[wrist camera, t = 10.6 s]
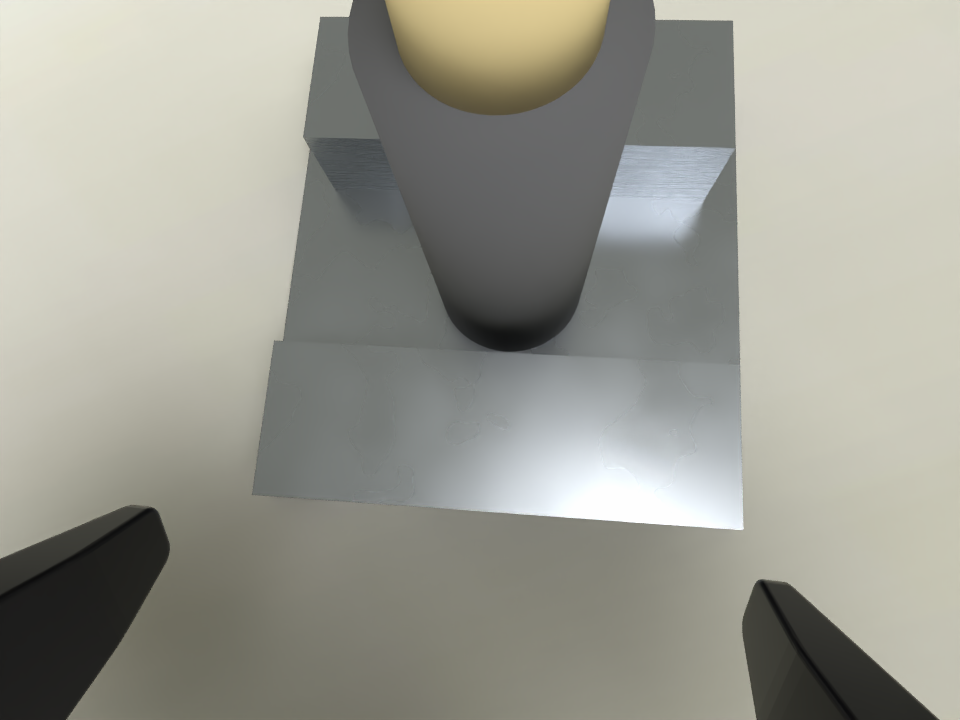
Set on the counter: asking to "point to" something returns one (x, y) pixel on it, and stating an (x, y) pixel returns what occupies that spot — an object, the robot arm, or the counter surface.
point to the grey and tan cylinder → (504, 143)
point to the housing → (530, 373)
